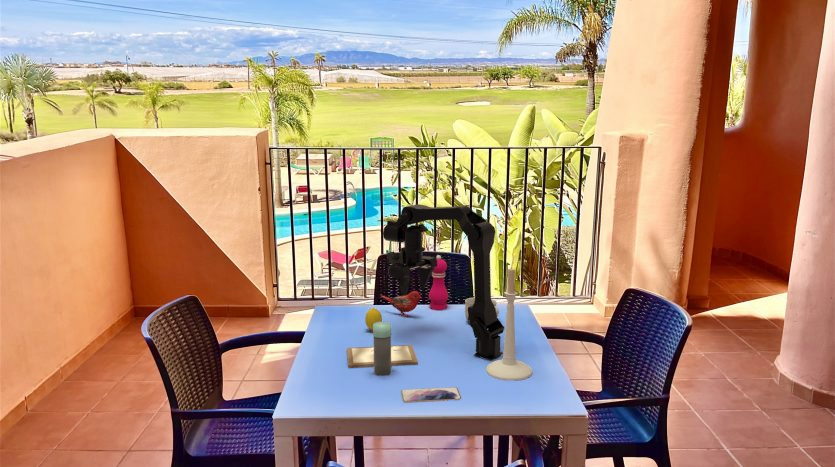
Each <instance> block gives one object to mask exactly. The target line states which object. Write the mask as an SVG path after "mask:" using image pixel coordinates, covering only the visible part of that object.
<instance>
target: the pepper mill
mask: <svg viewBox="0 0 835 467" xmlns="http://www.w3.org/2000/svg"><path fill="white" fill-rule="evenodd" d="M435 258H436V260H437V267H434V268H435V270H433V272H432V274H431V276H432V279H433V280H432V286H431V288H430V291H429V293H428V299H429V300H430V301H431V302H429V303H430V304H429V308H430V309H431V308H432V309H431V310H433V309H434V311H443V310H442V309H445V310H446V309H447V308H448V303H447V301H448V299H449V293H448V289H447V287H446V285H445V277H446V270H447V268H448V264H447V262H446V261H445V260H444V259H442V255H439V254H437V255H436V257H435Z"/></svg>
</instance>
